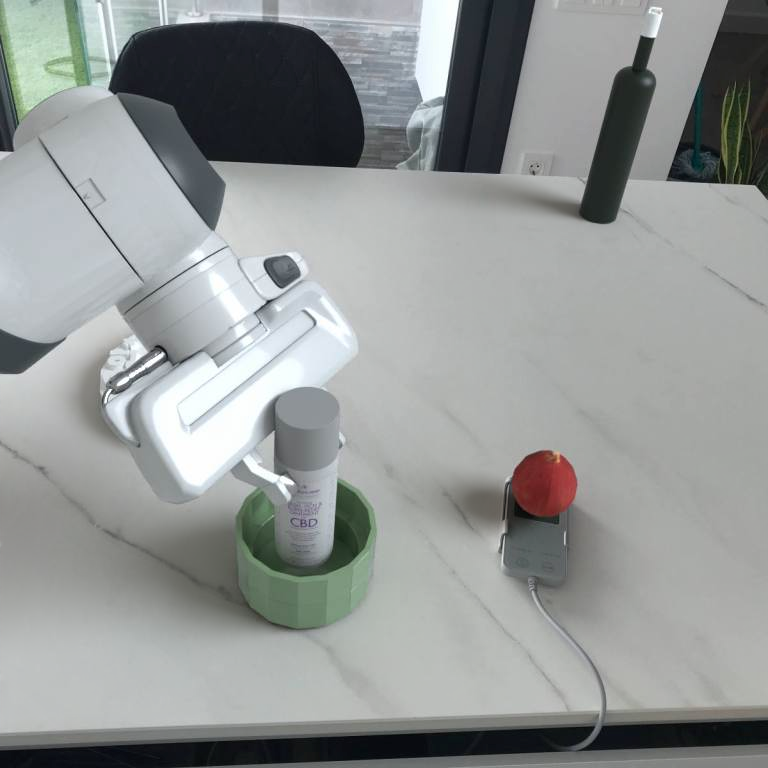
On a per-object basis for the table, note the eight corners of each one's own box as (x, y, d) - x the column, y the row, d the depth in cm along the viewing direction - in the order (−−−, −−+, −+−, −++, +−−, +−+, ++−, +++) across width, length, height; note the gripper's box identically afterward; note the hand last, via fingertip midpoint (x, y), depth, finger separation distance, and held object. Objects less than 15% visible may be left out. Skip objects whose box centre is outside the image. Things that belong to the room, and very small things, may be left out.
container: (288, 578, 60) (289, 438, 51) (265, 535, 63) (262, 395, 54) (342, 557, 62) (353, 419, 52) (318, 516, 65) (324, 378, 56)
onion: (493, 498, 73) (508, 438, 68) (542, 481, 76) (560, 420, 71) (528, 543, 70) (547, 482, 64) (579, 523, 72) (601, 463, 67)
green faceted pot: (313, 657, 59) (314, 607, 55) (211, 580, 64) (205, 530, 60) (396, 566, 66) (403, 516, 62) (299, 503, 71) (299, 453, 67)
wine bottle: (595, 226, 118) (654, 15, 99) (571, 209, 122) (624, 3, 102) (623, 220, 120) (687, 13, 101) (599, 203, 124) (656, 1, 105)
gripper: (107, 379, 45) (246, 563, 47) (312, 243, 59) (410, 391, 62) (66, 407, 49) (195, 574, 52) (265, 274, 63) (359, 410, 66)
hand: (313, 473), depth 57 cm, fingers closed on container, 4 cm apart
